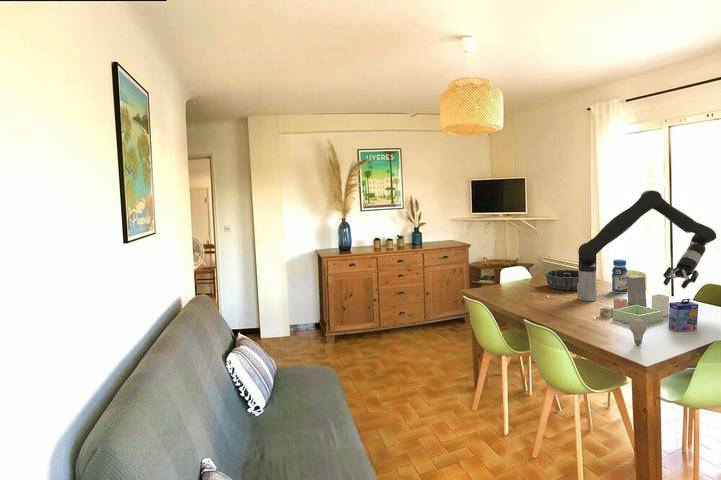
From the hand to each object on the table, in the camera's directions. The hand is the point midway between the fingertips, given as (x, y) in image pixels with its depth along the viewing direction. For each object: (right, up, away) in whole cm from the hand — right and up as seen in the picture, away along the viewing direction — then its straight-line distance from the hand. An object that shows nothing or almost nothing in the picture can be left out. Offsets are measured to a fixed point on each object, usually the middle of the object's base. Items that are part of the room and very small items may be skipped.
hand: (673, 286), depth 217 cm
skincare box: (-6, -12, +20) cm, 24 cm away
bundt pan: (-21, -9, +68) cm, 71 cm away
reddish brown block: (-23, -15, +6) cm, 28 cm away
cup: (-8, -14, -2) cm, 17 cm away
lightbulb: (-44, -20, -40) cm, 63 cm away
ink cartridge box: (-14, -17, -24) cm, 33 cm away
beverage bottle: (+2, -9, +49) cm, 50 cm away
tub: (-23, -16, -8) cm, 29 cm away
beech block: (-33, -16, +1) cm, 37 cm away
